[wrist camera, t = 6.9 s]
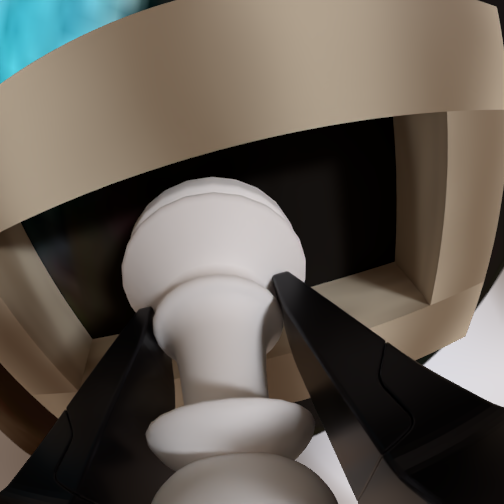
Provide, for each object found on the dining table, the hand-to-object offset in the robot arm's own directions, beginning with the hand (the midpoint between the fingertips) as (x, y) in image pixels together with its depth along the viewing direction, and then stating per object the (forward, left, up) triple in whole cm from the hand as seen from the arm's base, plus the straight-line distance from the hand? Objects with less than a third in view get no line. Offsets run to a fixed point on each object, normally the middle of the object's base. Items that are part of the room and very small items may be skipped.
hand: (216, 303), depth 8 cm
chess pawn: (0, 0, -3) cm, 2 cm away
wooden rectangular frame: (0, 0, -4) cm, 4 cm away
